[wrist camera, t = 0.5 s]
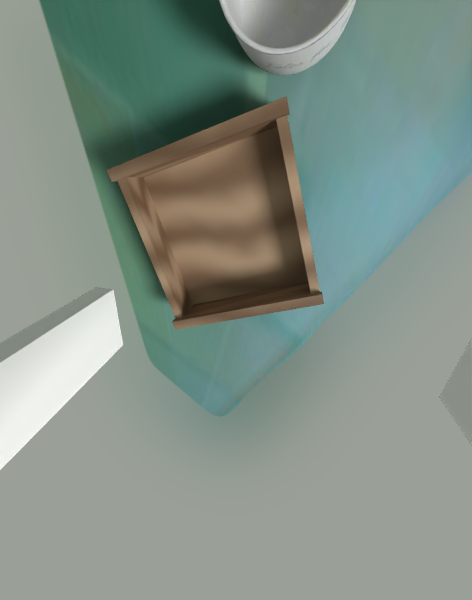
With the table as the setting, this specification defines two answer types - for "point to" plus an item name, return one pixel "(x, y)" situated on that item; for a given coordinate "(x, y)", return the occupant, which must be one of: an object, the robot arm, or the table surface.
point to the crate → (225, 219)
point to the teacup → (287, 30)
